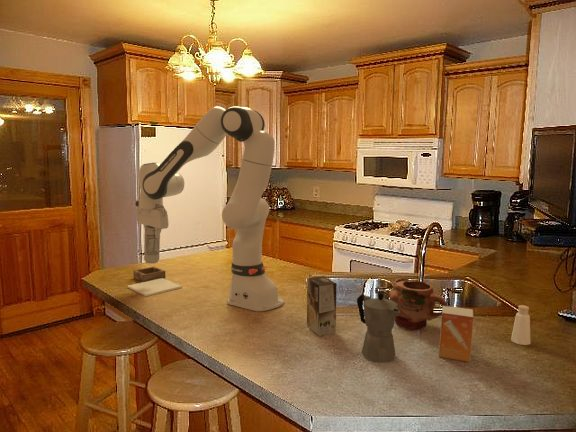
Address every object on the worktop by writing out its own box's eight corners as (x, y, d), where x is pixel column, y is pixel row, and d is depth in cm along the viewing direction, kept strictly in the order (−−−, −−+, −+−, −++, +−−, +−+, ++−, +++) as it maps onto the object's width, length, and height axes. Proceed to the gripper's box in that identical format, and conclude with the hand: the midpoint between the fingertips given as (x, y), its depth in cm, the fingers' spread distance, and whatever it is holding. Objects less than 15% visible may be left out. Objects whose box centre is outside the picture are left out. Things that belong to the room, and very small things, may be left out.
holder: (165, 278, 194) (165, 270, 193) (144, 283, 187) (144, 275, 186) (154, 273, 201) (154, 266, 200) (133, 278, 194) (133, 270, 194)
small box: (438, 357, 120) (441, 312, 119) (439, 348, 126) (442, 305, 124) (470, 362, 118) (473, 316, 116) (470, 352, 123) (473, 308, 121)
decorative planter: (452, 327, 141) (455, 286, 139) (440, 340, 131) (442, 296, 129) (394, 313, 153) (396, 275, 151) (379, 324, 143) (380, 283, 141)
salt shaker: (507, 337, 134) (510, 303, 132) (525, 337, 134) (528, 303, 132) (515, 345, 128) (519, 309, 127) (534, 345, 128) (537, 309, 127)
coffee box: (336, 333, 136) (337, 283, 134) (318, 336, 134) (319, 285, 132) (323, 322, 145) (323, 275, 142) (305, 325, 142) (306, 277, 140)
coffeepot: (408, 359, 119) (411, 296, 116) (384, 369, 114) (387, 303, 111) (367, 339, 132) (369, 282, 129) (344, 347, 126) (345, 287, 124)
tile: (182, 287, 181) (182, 286, 181) (146, 296, 170) (145, 294, 169) (162, 279, 192) (162, 278, 192) (127, 287, 181) (127, 285, 181)
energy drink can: (159, 259, 184) (160, 224, 180) (158, 264, 178) (159, 228, 175) (145, 259, 182) (145, 224, 179) (143, 263, 177) (143, 228, 173)
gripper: (171, 204, 171) (173, 239, 173) (146, 200, 185) (148, 232, 187) (157, 206, 166) (158, 241, 168) (132, 201, 180) (134, 234, 182)
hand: (152, 237), depth 178 cm, fingers closed on energy drink can, 6 cm apart
